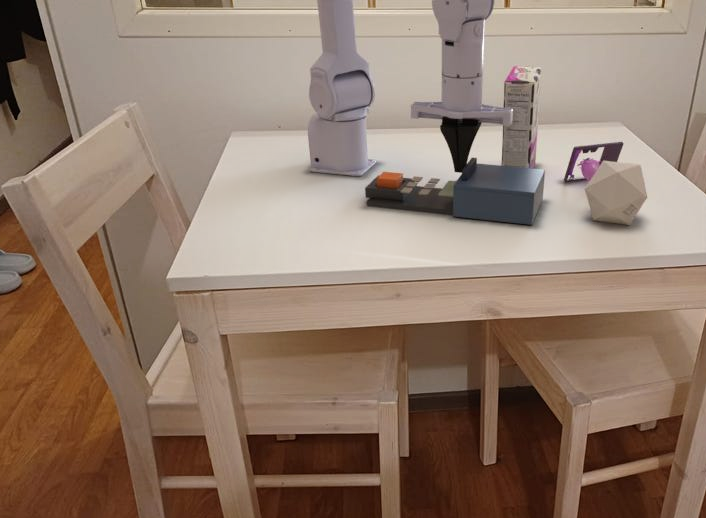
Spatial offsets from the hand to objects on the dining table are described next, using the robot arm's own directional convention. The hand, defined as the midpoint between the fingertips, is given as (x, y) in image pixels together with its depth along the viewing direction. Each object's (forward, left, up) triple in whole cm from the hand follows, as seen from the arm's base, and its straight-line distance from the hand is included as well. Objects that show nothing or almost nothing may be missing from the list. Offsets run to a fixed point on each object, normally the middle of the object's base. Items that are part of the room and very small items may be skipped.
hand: (460, 170), depth 107 cm
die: (+23, +1, -6) cm, 24 cm away
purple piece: (+19, +16, -6) cm, 25 cm away
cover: (+6, 0, -5) cm, 8 cm away
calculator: (-6, 0, -6) cm, 8 cm away
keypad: (-4, 0, -3) cm, 5 cm away
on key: (-11, 0, -3) cm, 12 cm away
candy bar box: (+6, +17, -6) cm, 19 cm away
